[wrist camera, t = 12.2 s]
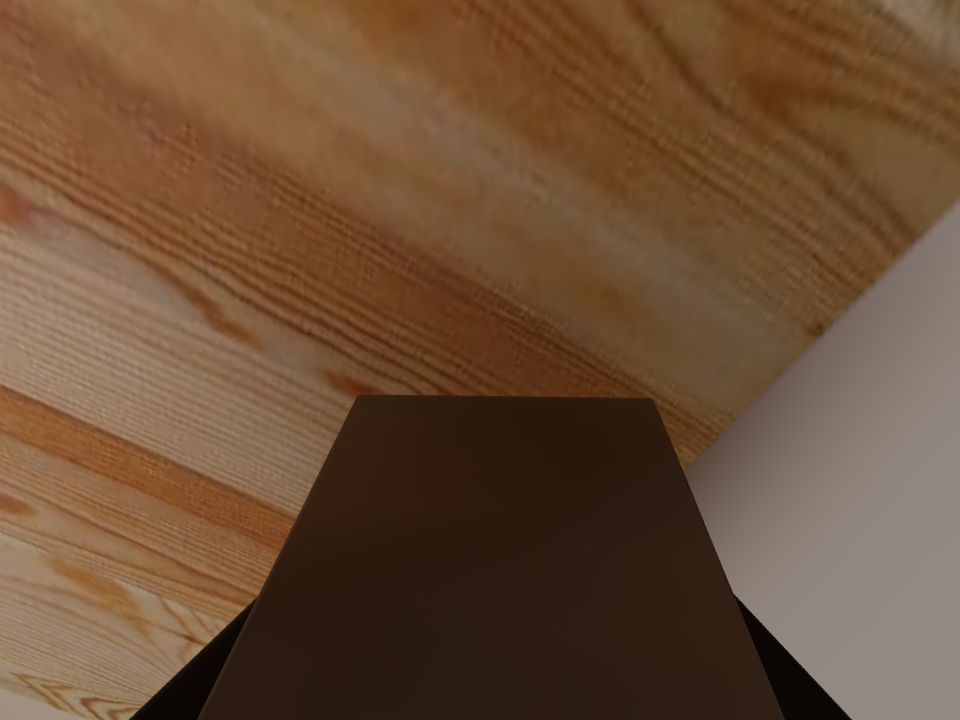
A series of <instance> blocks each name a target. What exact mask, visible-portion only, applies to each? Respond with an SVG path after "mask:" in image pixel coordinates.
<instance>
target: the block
mask: <svg viewBox="0 0 960 720" xmlns="http://www.w3.org/2000/svg"><path fill="white" fill-rule="evenodd" d="M197 720H785V719H784V716H783V714H782V712H781V709H780V707H779V704H778V702H777V699H776V697H775V694H774V692H773V690H772V687H771V685H770V682H769V680H768V677H767V675H766V672H765V670H764V668H763V665H762V663H761V660H760V658H759V655H758V653H757V650H756V648H755V646H754V643H753V641H752V638H751V636H750V633H749V631H748V629H747V626H746V624H745V621H744V619H743V616H742V614H741V611H740V609H739V607H738V604H737V602H736V599H735V597H734V594H733V592H732V589H731V587H730V585H729V582H728V580H727V577H726V575H725V572H724V570H723V568H722V565H721V563H720V560H719V558H718V555H717V553H716V550H715V548H714V545H713V543H712V541H711V538H710V536H709V533H708V531H707V528H706V526H705V523H704V521H703V519H702V516H701V514H700V511H699V509H698V506H697V504H696V501H695V499H694V497H693V494H692V492H691V489H690V487H689V484H688V482H687V479H686V477H685V475H684V472H683V470H682V467H681V465H680V462H679V460H678V457H677V455H676V453H675V450H674V448H673V445H672V443H671V440H670V438H669V435H668V433H667V431H666V428H665V426H664V423H663V421H662V418H661V416H660V413H659V411H658V409H657V406H656V404H655V401H654V400H653V399H651V398H611V397H528V396H444V395H358V396H357V397H356V399H355V401H354V403H353V405H352V407H351V409H350V411H349V413H348V415H347V417H346V420H345V422H344V424H343V426H342V428H341V430H340V432H339V434H338V436H337V438H336V440H335V442H334V444H333V446H332V448H331V450H330V452H329V454H328V456H327V458H326V460H325V462H324V464H323V466H322V468H321V470H320V472H319V474H318V476H317V478H316V480H315V482H314V484H313V486H312V488H311V490H310V492H309V494H308V496H307V498H306V500H305V502H304V505H303V507H302V509H301V511H300V513H299V515H298V517H297V519H296V521H295V523H294V525H293V527H292V529H291V531H290V533H289V535H288V537H287V539H286V541H285V543H284V545H283V547H282V549H281V551H280V553H279V555H278V557H277V559H276V561H275V563H274V565H273V567H272V569H271V571H270V573H269V575H268V577H267V579H266V581H265V583H264V585H263V587H262V590H261V592H260V594H259V596H258V598H257V600H256V602H255V604H254V606H253V608H252V610H251V612H250V614H249V616H248V618H247V620H246V622H245V624H244V626H243V628H242V630H241V632H240V634H239V636H238V638H237V640H236V642H235V644H234V646H233V648H232V650H231V652H230V654H229V656H228V658H227V660H226V662H225V664H224V666H223V668H222V670H221V672H220V675H219V677H218V679H217V681H216V683H215V685H214V687H213V689H212V691H211V693H210V695H209V697H208V699H207V701H206V703H205V705H204V707H203V709H202V711H201V713H200V715H199V717H198V719H197Z"/></svg>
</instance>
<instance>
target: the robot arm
mask: <svg viewBox="0 0 960 720" xmlns="http://www.w3.org/2000/svg"><path fill="white" fill-rule="evenodd" d="M734 597H735V599H736V602H737V604H738V607H739V609H740V611H741V614H742V616H743V619H744V621H745V624H746V626H747V629H748V631H749V633H750V636H751V638H752V641H753V643H754V646H755V648H756V650H757V653H758V655H759V658H760V660H761V663H762V665H763V668H764V670H765V672H766V675H767V677H768V680H769V682H770V685H771V687H772V690H773V692H774V694H775V697H776V699H777V702H778V704H779V707H780V709H781V712H782V714H783V716H784V719H785V720H852V719H851V718H850V717H849V716H848V715H847V714H846V713H845V712H844V711H843V710H842V709H841V708H840V707H839V705H837V703H836V702H835V701H834V700H833V699H832V698H831V697H830V696H829V695H828V694H827V693H826V692H825V691H824V690H823V688H822V687H821V686H820V685H819V684H818V683H817V682H816V681H815V680H814V679H813V678H812V677H811V676H810V675H809V674H808V672H807V671H806V670H805V669H804V668H803V667H802V666H801V665H800V664H799V663H798V662H797V661H796V660H795V659H794V658H793V656H792V655H791V654H790V653H789V652H788V651H787V650H786V649H785V648H784V647H783V646H782V645H781V644H780V643H779V642H778V641H777V639H776V638H775V637H774V636H773V635H772V634H771V633H770V632H769V631H768V630H767V629H766V628H765V627H764V626H763V625H762V623H761V622H760V621H759V620H758V619H757V618H756V617H755V616H754V615H753V614H752V613H751V612H750V611H749V610H748V609H747V608H746V606H745V605H744V604H743V603H742V602H741V601H740V600H739V599H738V598H737V597H736V596H735V595H734ZM257 598H258V597H257ZM257 598H256V599H255V600H254V601H253V602H252V603H251V604H249V605H248V606H247V607H246V608H245V609H244V610H243V611H242V612H241V613H240V614H239V615H238V616H237V617H236V618H235V619H234V620H233V621H232V622H231V623H230V624H229V625H227V626H226V627H225V628H224V629H223V630H222V631H221V632H220V633H219V634H218V635H217V636H216V637H215V638H214V639H213V640H212V641H211V642H210V643H209V644H208V645H207V646H205V647H204V648H203V649H202V650H201V651H200V652H199V653H198V654H197V655H196V656H195V657H194V658H193V659H192V660H191V661H190V662H189V663H188V664H187V665H186V666H185V667H183V668H182V669H181V670H180V671H179V672H178V673H177V674H176V675H175V676H174V677H173V678H172V679H171V680H170V681H169V682H168V683H167V684H166V685H165V686H164V687H163V688H161V689H160V690H159V691H158V692H157V693H156V694H155V695H154V696H153V697H152V698H151V699H150V700H149V701H148V702H147V703H146V704H145V705H144V706H143V707H142V708H141V709H139V710H138V711H137V712H136V713H135V714H134V715H133V716H132V717H131V718H130V719H129V720H197V719H198V717H199V715H200V713H201V711H202V709H203V707H204V705H205V703H206V701H207V699H208V697H209V695H210V693H211V691H212V689H213V687H214V685H215V683H216V681H217V679H218V677H219V675H220V672H221V670H222V668H223V666H224V664H225V662H226V660H227V658H228V656H229V654H230V652H231V650H232V648H233V646H234V644H235V642H236V640H237V638H238V636H239V634H240V632H241V630H242V628H243V626H244V624H245V622H246V620H247V618H248V616H249V614H250V612H251V610H252V608H253V606H254V604H255V602H256V600H257Z"/></svg>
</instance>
